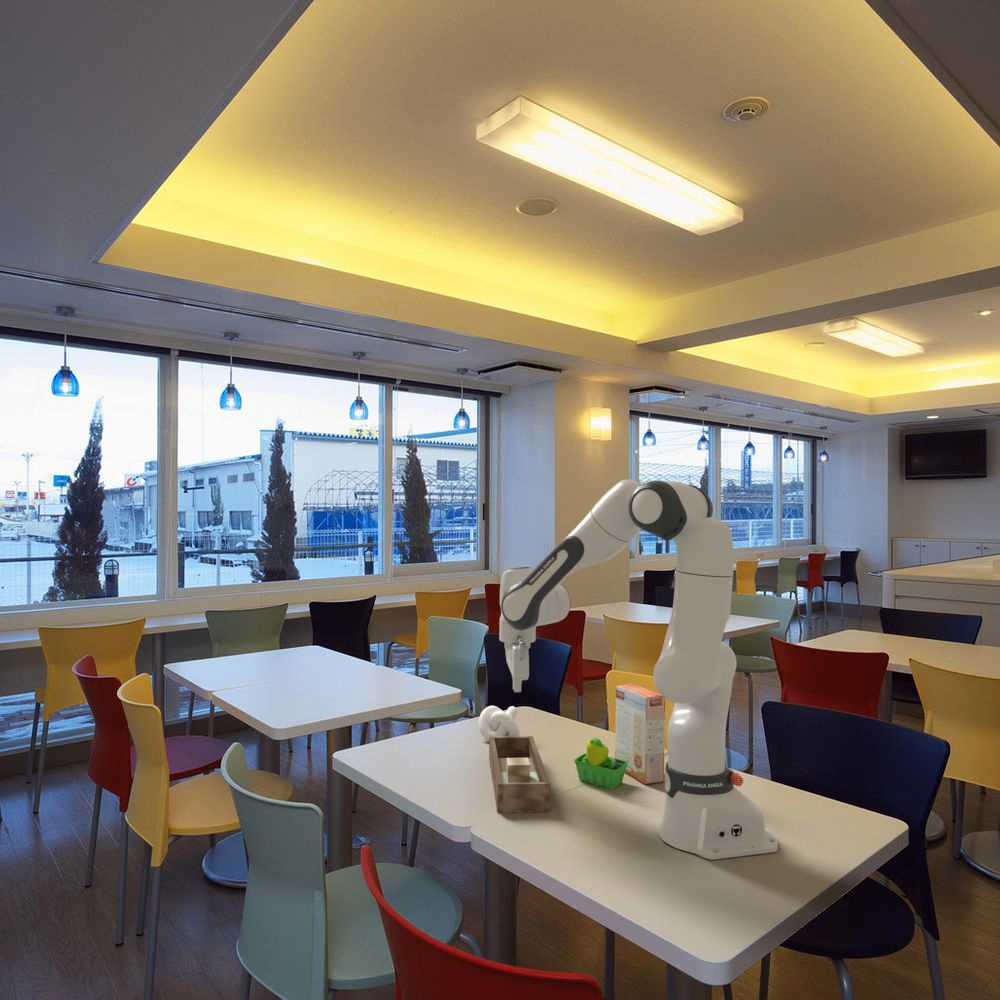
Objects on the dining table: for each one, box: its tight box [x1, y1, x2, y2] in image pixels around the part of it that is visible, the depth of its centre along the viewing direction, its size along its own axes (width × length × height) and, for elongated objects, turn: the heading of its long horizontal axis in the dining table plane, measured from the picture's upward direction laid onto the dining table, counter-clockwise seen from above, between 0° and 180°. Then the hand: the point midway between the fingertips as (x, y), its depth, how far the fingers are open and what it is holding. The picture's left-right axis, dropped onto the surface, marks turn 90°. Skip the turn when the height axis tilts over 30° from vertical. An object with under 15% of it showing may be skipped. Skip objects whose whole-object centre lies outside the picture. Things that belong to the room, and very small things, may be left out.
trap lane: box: [488, 735, 551, 813], centre depth 174 cm, size 11×34×6 cm, turn 4°
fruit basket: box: [573, 737, 628, 790], centre depth 176 cm, size 11×9×11 cm
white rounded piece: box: [478, 705, 521, 742], centre depth 209 cm, size 11×12×9 cm
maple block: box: [506, 758, 530, 783], centre depth 169 cm, size 5×5×4 cm
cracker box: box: [614, 683, 666, 785], centre depth 182 cm, size 14×6×21 cm, turn 22°
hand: (517, 690), depth 177 cm, fingers closed
